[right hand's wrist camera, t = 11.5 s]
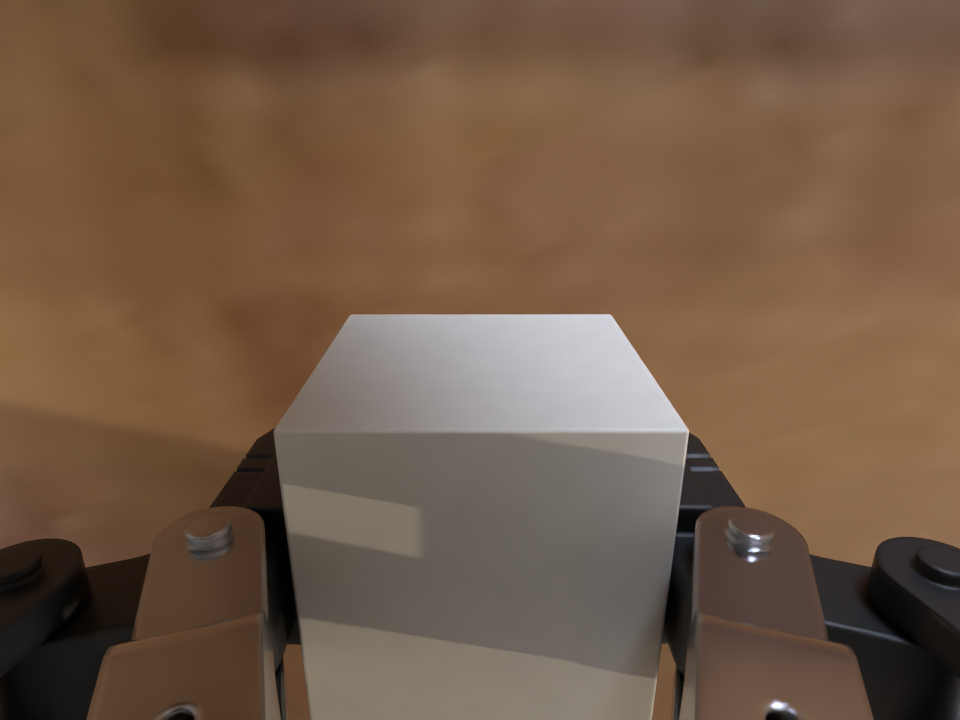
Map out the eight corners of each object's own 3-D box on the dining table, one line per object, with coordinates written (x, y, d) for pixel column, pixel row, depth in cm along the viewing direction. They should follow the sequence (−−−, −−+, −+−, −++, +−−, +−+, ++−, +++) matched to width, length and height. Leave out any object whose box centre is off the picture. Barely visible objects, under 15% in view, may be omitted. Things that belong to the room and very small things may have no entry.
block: (366, 533, 13) (311, 735, 9) (349, 314, 11) (271, 429, 7) (594, 533, 13) (650, 734, 9) (611, 314, 11) (691, 430, 7)
